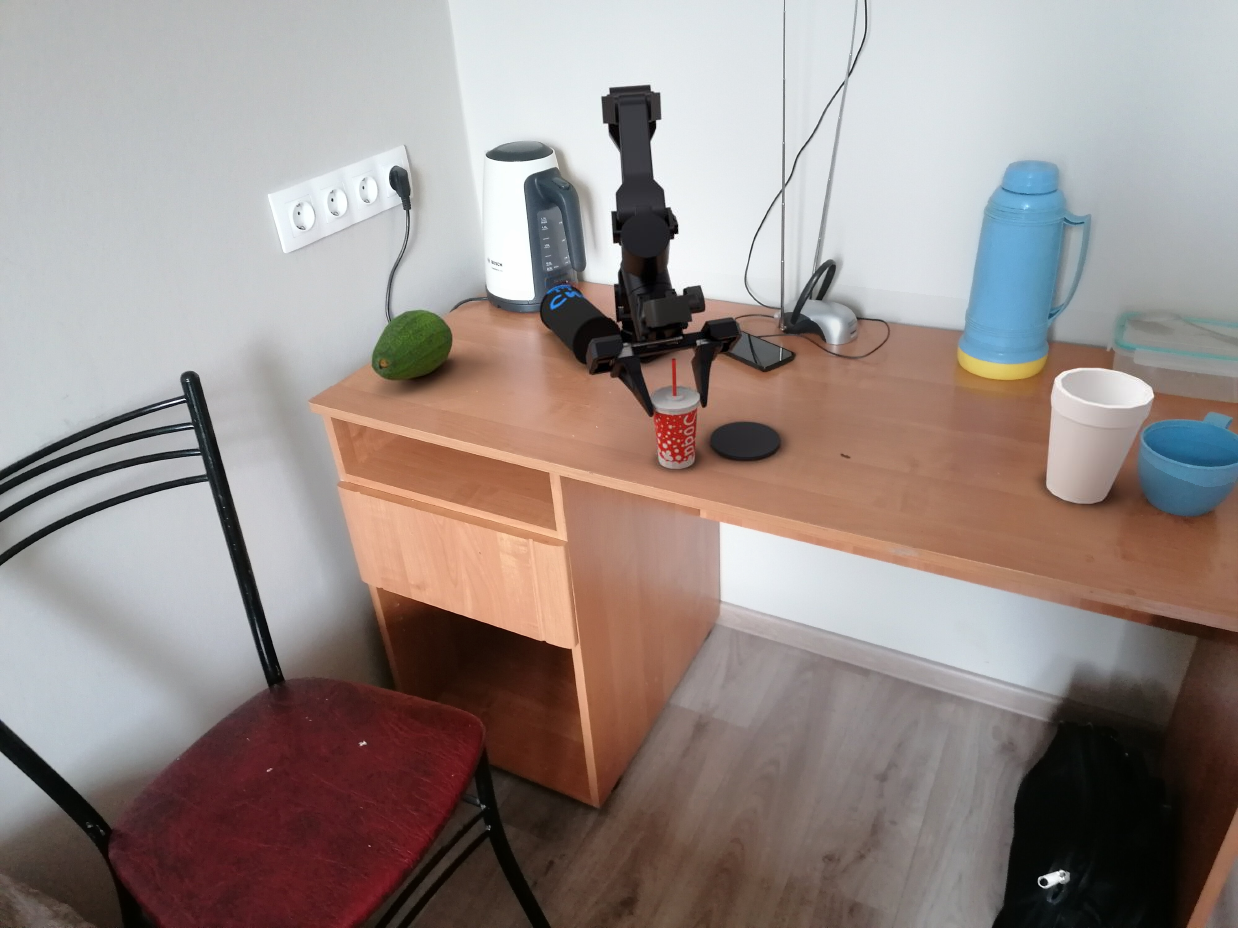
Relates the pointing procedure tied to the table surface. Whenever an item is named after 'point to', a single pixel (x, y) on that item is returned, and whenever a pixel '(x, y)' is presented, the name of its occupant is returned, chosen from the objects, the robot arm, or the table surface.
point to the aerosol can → (575, 319)
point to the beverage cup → (675, 423)
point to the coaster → (745, 441)
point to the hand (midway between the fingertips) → (678, 411)
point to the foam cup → (1092, 430)
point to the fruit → (412, 345)
